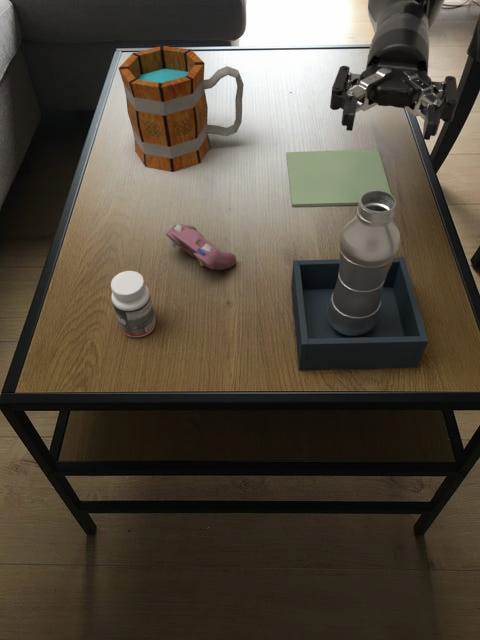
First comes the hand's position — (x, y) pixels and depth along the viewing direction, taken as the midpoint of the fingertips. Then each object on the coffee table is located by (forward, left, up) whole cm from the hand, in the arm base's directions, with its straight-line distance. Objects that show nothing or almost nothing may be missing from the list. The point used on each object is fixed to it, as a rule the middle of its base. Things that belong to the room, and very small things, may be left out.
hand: (389, 128), depth 60 cm
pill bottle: (+31, +9, -22) cm, 39 cm away
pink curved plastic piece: (+23, -3, -22) cm, 32 cm away
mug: (+26, -31, -22) cm, 46 cm away
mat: (+1, -21, -22) cm, 30 cm away
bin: (+3, +10, -22) cm, 25 cm away
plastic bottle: (+3, +10, -22) cm, 24 cm away
